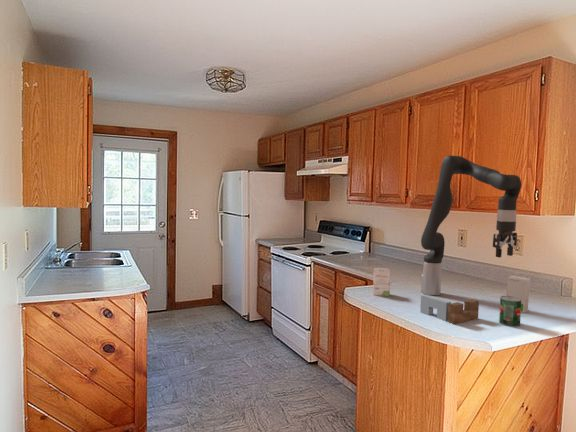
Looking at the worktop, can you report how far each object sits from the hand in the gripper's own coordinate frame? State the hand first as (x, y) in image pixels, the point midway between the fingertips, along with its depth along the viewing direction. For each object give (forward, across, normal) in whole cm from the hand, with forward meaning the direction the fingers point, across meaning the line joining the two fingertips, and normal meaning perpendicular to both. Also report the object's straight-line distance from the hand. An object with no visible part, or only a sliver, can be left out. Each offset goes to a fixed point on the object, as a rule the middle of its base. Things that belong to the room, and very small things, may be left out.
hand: (504, 256), depth 179 cm
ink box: (+28, +22, -53) cm, 64 cm away
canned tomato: (+27, +7, +8) cm, 29 cm away
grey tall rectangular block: (+27, +26, -14) cm, 41 cm away
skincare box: (+27, -15, -2) cm, 31 cm away
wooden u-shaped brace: (+27, +21, -4) cm, 34 cm away
